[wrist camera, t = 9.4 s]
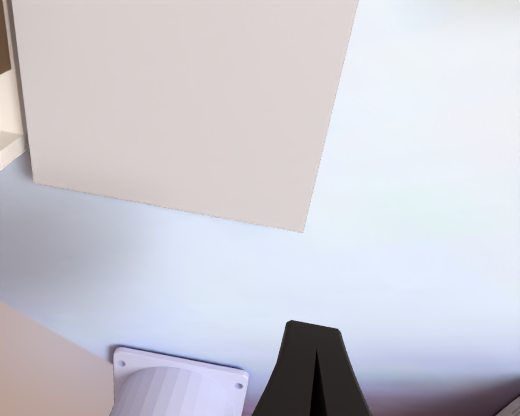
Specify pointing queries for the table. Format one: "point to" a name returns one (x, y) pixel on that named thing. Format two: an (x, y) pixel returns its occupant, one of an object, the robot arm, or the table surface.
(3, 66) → the brown square block
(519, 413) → the coffee box
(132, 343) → the table surface
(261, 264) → the table surface
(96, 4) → the beige board
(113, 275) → the table surface
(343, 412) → the robot arm
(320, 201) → the table surface
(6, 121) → the box
